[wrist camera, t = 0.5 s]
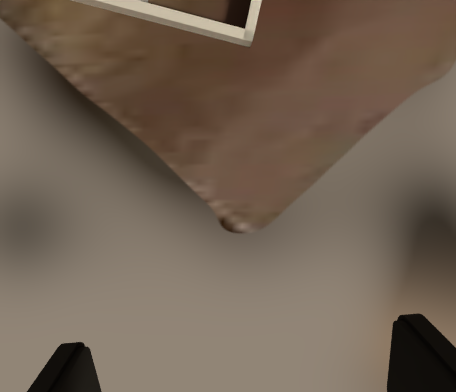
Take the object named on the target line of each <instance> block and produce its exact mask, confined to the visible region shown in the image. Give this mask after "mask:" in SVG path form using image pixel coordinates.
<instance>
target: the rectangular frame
mask: <svg viewBox="0 0 456 392" xmlns="http://www.w3.org/2000/svg"><path fill="white" fill-rule="evenodd" d="M72 1H76V2H79V3H83V4H87V5H91V6H95V7H98V8H102V9H106V10H110V11H114V12H117V13H121V14H125V15H129V16H133V17H136V18H140V19H144V20H148V21H152V22H155V23H159V24H163V25H167V26H171V27H175V28H178V29H182V30H186V31H190V32H194V33H197V34H201V35H205V36H209V37H213V38H216V39H220V40H224V41H228V42H232V43H235V44H239V45H243V46H247V47H250V46H251V43H252V40H253V36H254V32H255V27H256V23H257V18H258V14H259V10H260V5H261V1H262V0H251V4H250V8H249V13H248V17H247V22H246V26H245V29H243V28H239V27H236V26H232V25H228V24H225V23H221V22H217V21H213V20H210V19H206V18H202V17H198V16H195V15H191V14H187V13H184V12H180V11H176V10H172V9H169V8H165V7H161V6H157V5H154V4H150V3H148V0H72Z"/></svg>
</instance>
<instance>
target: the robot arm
mask: <svg viewBox="0 0 456 392" xmlns="http://www.w3.org/2000/svg"><path fill="white" fill-rule="evenodd" d="M27 392H101V388H100V384H99V381H98V377H97V373H96V370H95V366H94V363H93V359H92V355H91V351H90V349H89V348H88V347H85V345H84V343H82V342H76V343H64V344H61V345H60V346H59V347H58V348H57V350H56V351H55V352H54V354H53V355H52V357H51V358H50V359H49V361H48V362H47V364H46V365H45V367H44V368H43V370H42V371H41V372H40V374H39V375H38V377H37V378H36V380H35V381H34V383H33V384H32V385H31V387H30V388H29V390H28V391H27ZM387 392H456V348H455V347H454V346H453V345H452V344H451V343H450V342H449V341H448V340H447V339H446V338H445V337H444V336H443V335H442V334H441V333H440V332H439V331H438V330H437V329H436V328H435V327H434V326H433V325H432V324H431V323H430V322H429V321H428V320H427V319H426V318H425V317H424V316H423V315H422V314H408V315H400V316H399V317H398V320H397V321H394V323H393V330H392V340H391V351H390V360H389V371H388V381H387Z"/></svg>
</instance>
